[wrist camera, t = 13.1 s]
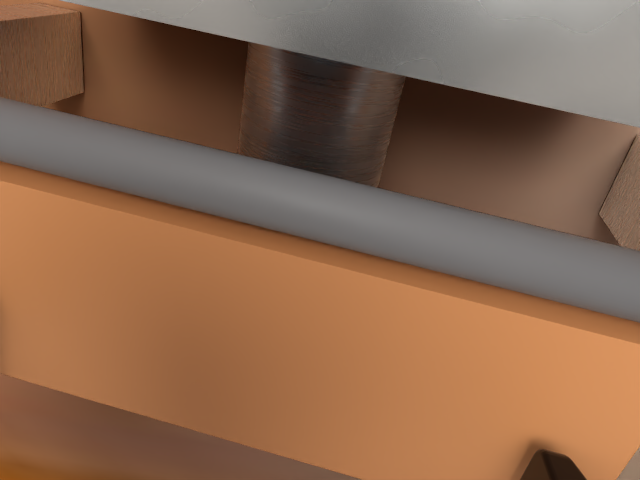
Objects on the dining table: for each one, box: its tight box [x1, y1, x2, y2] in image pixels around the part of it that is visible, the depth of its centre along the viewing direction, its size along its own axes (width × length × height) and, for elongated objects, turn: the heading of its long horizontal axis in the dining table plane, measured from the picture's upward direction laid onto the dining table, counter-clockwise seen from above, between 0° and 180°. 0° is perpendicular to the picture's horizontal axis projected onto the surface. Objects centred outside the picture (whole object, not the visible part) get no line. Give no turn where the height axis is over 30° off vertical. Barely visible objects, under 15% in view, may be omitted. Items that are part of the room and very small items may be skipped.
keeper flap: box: [0, 97, 640, 480], centre depth 8 cm, size 12×5×1 cm, turn 80°
